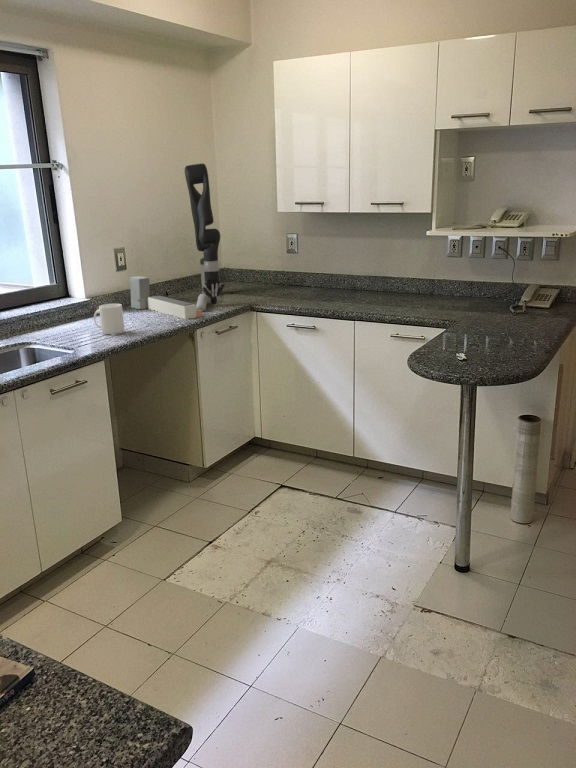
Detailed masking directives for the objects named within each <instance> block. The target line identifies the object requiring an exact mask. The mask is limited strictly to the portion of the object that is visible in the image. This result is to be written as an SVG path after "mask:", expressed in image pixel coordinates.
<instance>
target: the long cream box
mask: <svg viewBox="0 0 576 768" xmlns="http://www.w3.org/2000/svg"><path fill="white" fill-rule="evenodd" d="M148 307H149V308H148V310H150V309H151V311H153V310H155V311H154V312H157V311H158V313H161V312H162V314H164V313H165V314H164V315H168V314H169V316H171V315H173V316H172V317H175V316H177V317H176V318H178V317H180V319H182V318H183V320H190V319H189V318H191V319H196V317H197V318H201V317H203V312H202V310H196V304H193V303H192V302H187V301H182V300H179V299H175V298H171V297H167V296H163V295H160V294H159V295H152V296H151V295H150V297H148Z"/></svg>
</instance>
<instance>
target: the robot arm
mask: <svg viewBox="0 0 576 768" xmlns="http://www.w3.org/2000/svg"><path fill="white" fill-rule="evenodd" d="M184 175H185V176H184V178H185V181H186V185H187V189H188V196H189V201H190V210H191V216H192V220H193V224H194V225H193V226H194V233H195V234H194V235H195V244H196V245H195V246H196V249H197V250H198V252H203V257H202V258H200V260H199V264H200V277H201V287H200V289H201V291H202V292H201V294H205V295H207V296H208V297H209V298H210V304H212V305H216V304H217V302H218V301H217V300H218V299H217V298H218V296H220V295H221V293H222V290H223V289H224V288H225V285H224V284H222V283H221V279H220V267H219V266H220V264H219V255H218V254H219V253H218V252H219V245H220V240H221V232H220V230H218V229H217V228H206V227H207V226H210V225H212V224H214V216H213V210H212V203H211V191H210V190H211V189H210V181H209V173H208V169H207V165H206V164H205V163H202V162H201V163H195V164H189V165H185V167H184ZM201 184H202V186H203V187H202V192H201V193H200V192H199V191H198V189H197V188H196V187H195V185H201Z"/></svg>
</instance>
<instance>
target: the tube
mask: <svg viewBox="0 0 576 768" xmlns="http://www.w3.org/2000/svg"><path fill="white" fill-rule="evenodd" d="M208 299H209V296H207V295H205V294H202V293H200V294H199V295H198V296H197V301H196V304H195V305H196V311H197V310H202V313H204V312H205V311H206V309H207V304H208V301H209V300H208Z"/></svg>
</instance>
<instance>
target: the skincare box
mask: <svg viewBox="0 0 576 768" xmlns="http://www.w3.org/2000/svg"><path fill="white" fill-rule="evenodd" d="M129 283H130V284H129V285H130V286H129V287H130V307H131V309H134V308H135V309H136V310H140V309H141V310H146V309H145V308H148V309H149V307H148V297H151V291H150V290H151V288H150V277H146V276H142V275H141V276H140V275H137V276H130V277H129Z"/></svg>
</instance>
